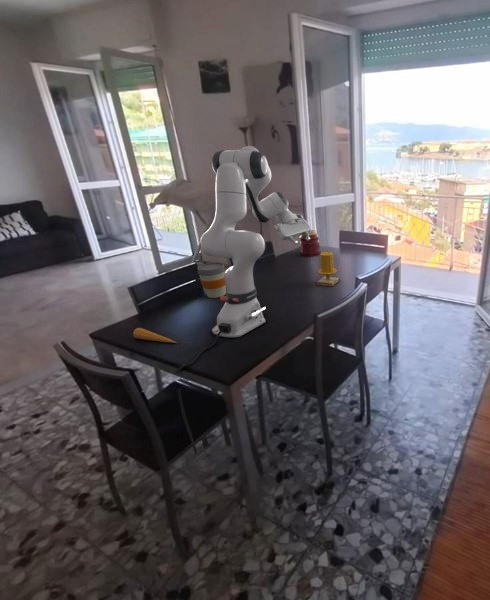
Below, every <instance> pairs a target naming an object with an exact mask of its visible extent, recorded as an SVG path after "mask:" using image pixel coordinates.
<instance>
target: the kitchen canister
mask: <svg viewBox="0 0 490 600" xmlns="http://www.w3.org/2000/svg"><path fill="white" fill-rule="evenodd" d="M298 237H299V239H300V241H299V244H300V246H299V247H300V254H301V255H302V256H304V257H314V256H318V255H320V254H321V248H320V247H321V246H320V240H319V237H320V235H319V234H318V232H317V231H316V230H315V229H311V231H310V232H309V237H310V240H309V241H307V240H306V236H305V235H301V236H298Z"/></svg>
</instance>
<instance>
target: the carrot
mask: <svg viewBox="0 0 490 600" xmlns="http://www.w3.org/2000/svg"><path fill="white" fill-rule="evenodd" d="M132 334H133V338H135V339H139V340H144V341H152V342H160V343H169V344H178V341H175V340H173V339H170V338H169V337H166V336H163V335H160V334H158V333H155V332H153V331H150V330H148V329H145V328H143V327H136V328H135V329H134V330H133V332H132Z"/></svg>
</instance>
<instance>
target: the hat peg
mask: <svg viewBox="0 0 490 600" xmlns="http://www.w3.org/2000/svg"><path fill="white" fill-rule="evenodd" d="M339 281H340V277H334V276H331V274H330V275H323V276H322V277H321V278H320V279H319V280H318V281H317V282H316V284H317V285H318V286H324V287H325V286H326V287H334V286H335V285H336V284H337V283H339Z"/></svg>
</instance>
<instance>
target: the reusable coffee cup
mask: <svg viewBox="0 0 490 600" xmlns="http://www.w3.org/2000/svg"><path fill="white" fill-rule="evenodd" d="M225 272H226V268H225V264H224V263H223V262H218V261H217V262H216V261H214V262H206V263H203V264H200V265H199V266H197V275H198V276H199V281H200V283H201V286H202V288H203V289H204V291H205V294H206V296H207V298H210V299H216V298H221V296H226V291H227V288H226V283H225V278H224V274H225Z"/></svg>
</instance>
